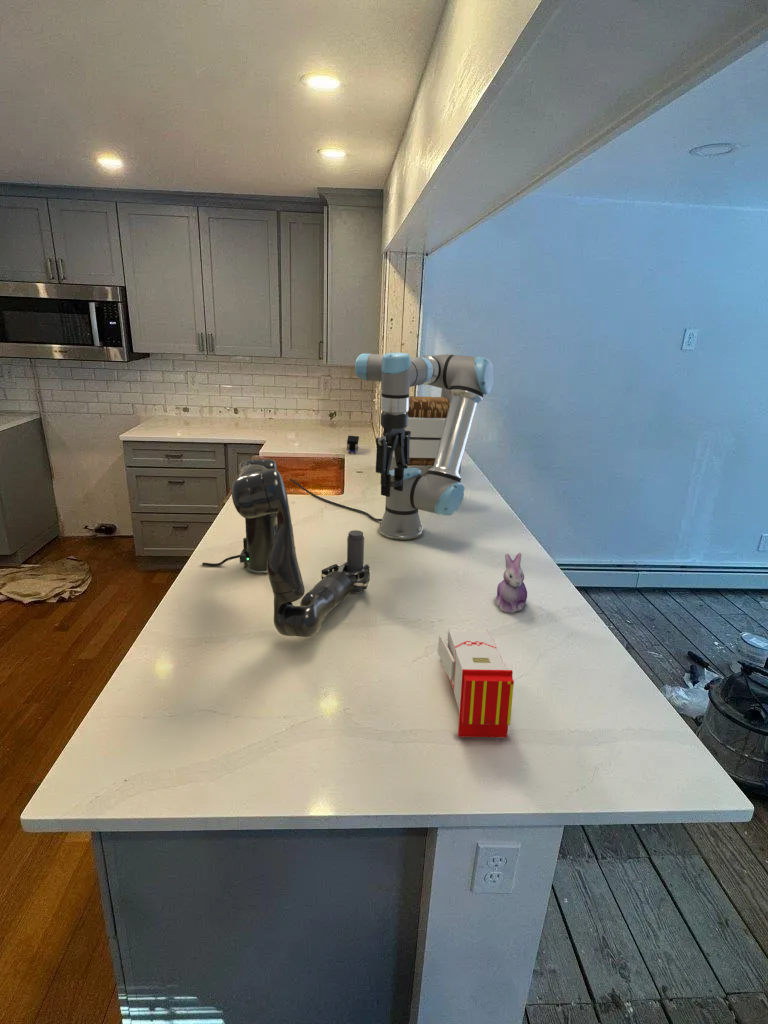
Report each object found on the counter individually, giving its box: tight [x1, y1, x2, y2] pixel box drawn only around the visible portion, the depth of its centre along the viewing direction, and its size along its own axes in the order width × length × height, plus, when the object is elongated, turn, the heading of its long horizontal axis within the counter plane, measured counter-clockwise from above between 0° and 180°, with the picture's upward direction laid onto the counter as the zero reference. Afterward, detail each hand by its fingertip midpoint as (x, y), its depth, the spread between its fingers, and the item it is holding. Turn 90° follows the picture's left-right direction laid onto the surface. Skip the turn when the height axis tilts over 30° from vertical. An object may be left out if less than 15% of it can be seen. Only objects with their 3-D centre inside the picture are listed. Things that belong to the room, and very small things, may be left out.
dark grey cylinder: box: [346, 529, 365, 594], centre depth 156 cm, size 5×5×17 cm
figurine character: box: [346, 435, 360, 455], centre depth 309 cm, size 7×8×15 cm
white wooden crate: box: [388, 388, 463, 476], centre depth 268 cm, size 34×33×41 cm
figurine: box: [495, 552, 528, 614], centre depth 152 cm, size 9×10×15 cm
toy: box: [437, 628, 515, 738], centre depth 117 cm, size 12×13×30 cm
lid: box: [391, 476, 402, 487], centre depth 161 cm, size 6×6×2 cm
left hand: (358, 565), depth 160 cm, fingers closed on dark grey cylinder, 4 cm apart
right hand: (392, 492), depth 162 cm, fingers closed on lid, 5 cm apart
